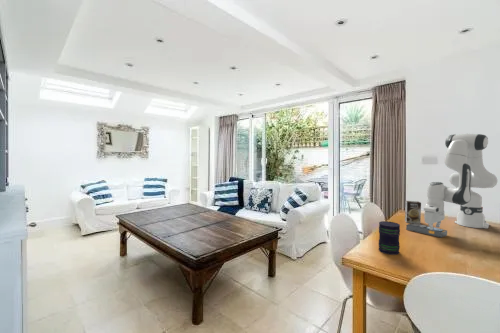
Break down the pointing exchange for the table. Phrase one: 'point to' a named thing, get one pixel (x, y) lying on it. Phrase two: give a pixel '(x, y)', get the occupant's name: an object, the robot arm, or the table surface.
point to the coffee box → (413, 212)
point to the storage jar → (389, 237)
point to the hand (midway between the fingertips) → (434, 228)
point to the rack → (425, 230)
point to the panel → (436, 229)
